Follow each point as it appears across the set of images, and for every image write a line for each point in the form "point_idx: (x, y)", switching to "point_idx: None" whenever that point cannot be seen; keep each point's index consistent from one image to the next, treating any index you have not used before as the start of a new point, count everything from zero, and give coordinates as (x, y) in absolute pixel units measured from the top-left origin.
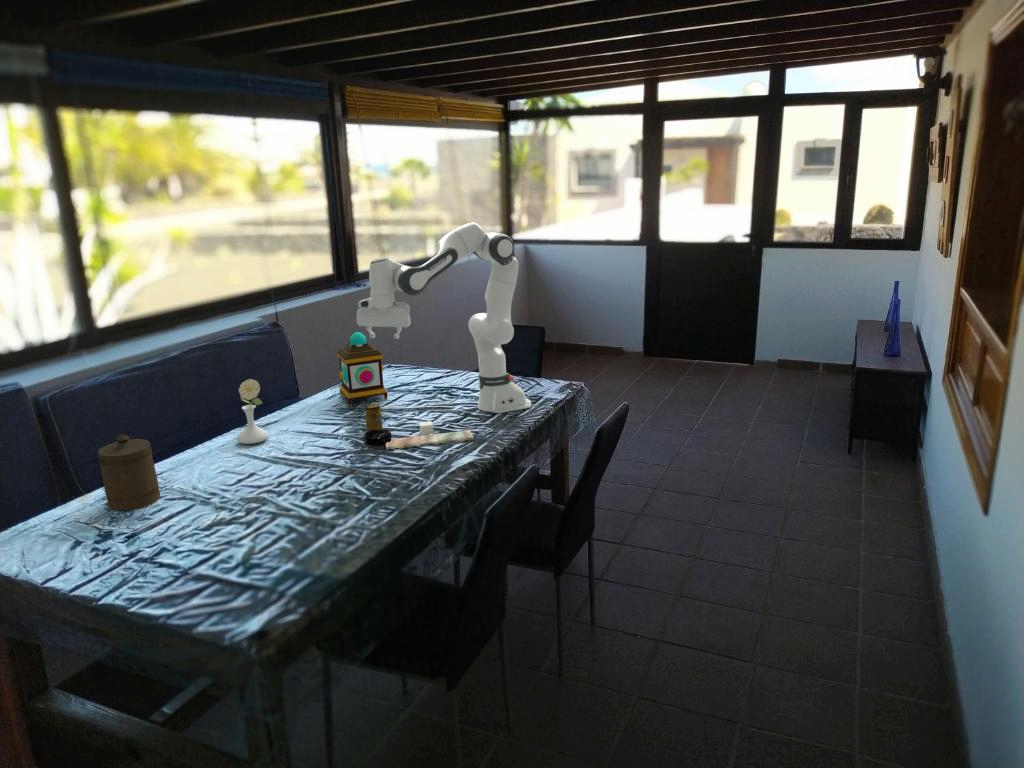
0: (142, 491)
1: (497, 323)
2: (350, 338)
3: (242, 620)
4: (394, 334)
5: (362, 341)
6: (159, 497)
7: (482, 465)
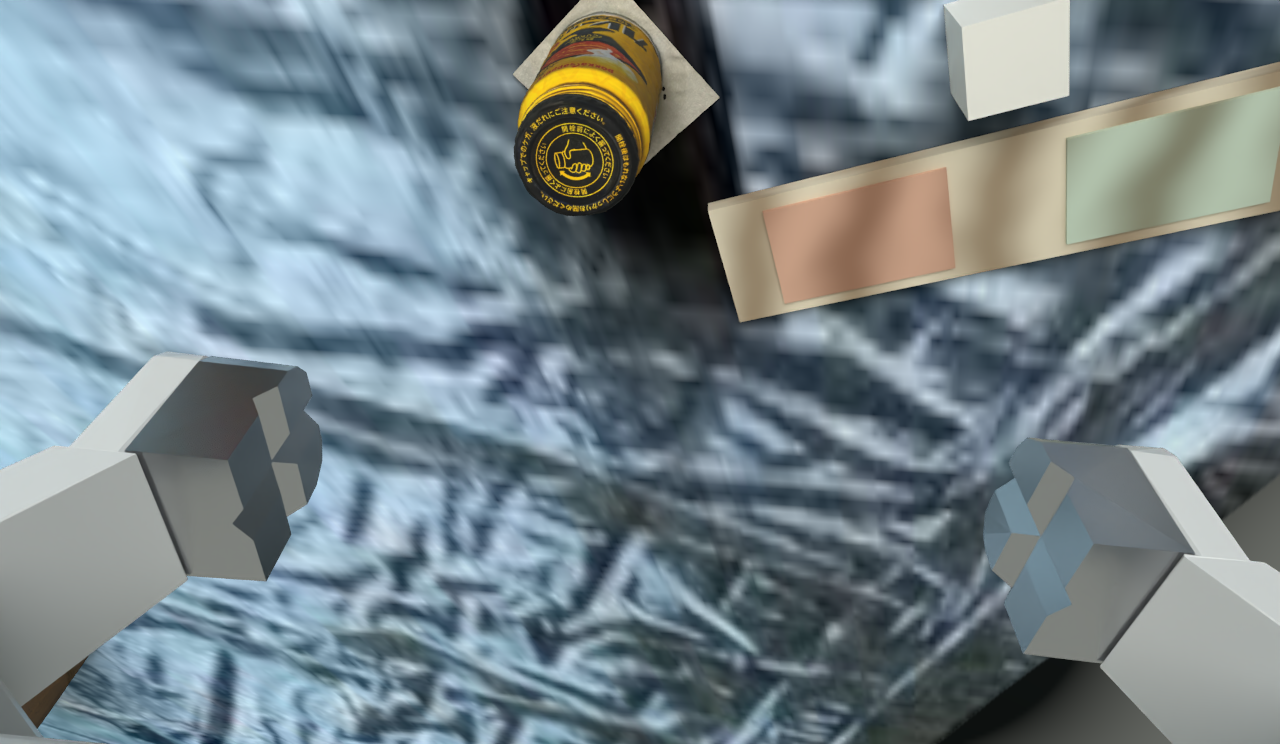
0: (60, 695)
1: None
2: None
3: None
4: (1042, 655)
5: None
6: None
7: (1234, 502)
